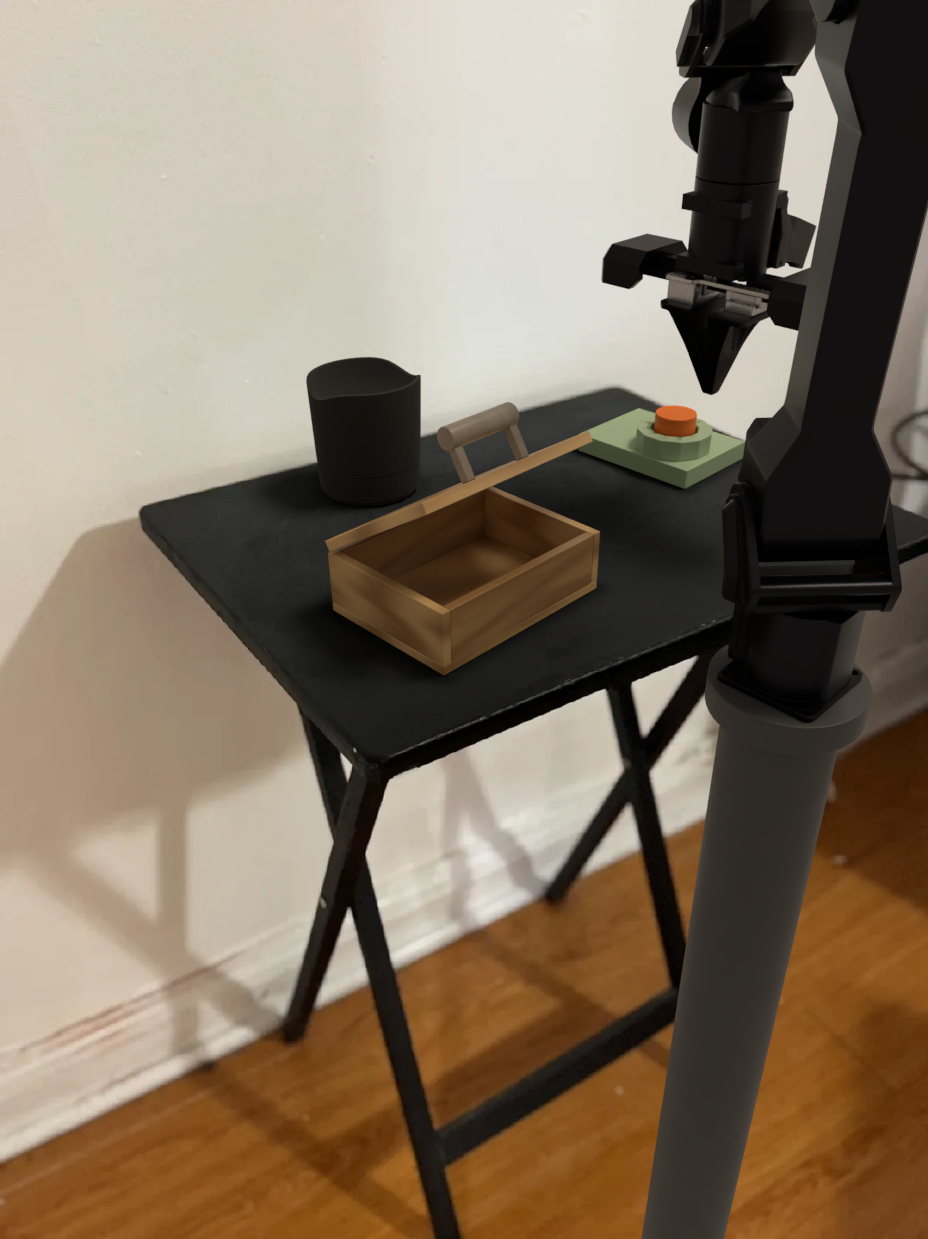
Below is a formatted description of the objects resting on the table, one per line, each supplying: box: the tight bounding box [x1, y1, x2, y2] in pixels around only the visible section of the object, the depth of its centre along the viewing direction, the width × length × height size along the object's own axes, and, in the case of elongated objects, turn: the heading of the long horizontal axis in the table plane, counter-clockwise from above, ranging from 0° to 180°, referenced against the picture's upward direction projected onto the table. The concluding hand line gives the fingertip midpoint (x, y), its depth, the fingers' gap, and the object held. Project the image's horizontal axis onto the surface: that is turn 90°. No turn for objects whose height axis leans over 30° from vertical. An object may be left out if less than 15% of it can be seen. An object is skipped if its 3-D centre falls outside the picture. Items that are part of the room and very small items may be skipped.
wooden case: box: [327, 486, 601, 676], centre depth 74 cm, size 11×15×5 cm
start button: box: [654, 405, 698, 437], centre depth 92 cm, size 4×4×2 cm
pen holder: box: [305, 356, 422, 507], centre depth 89 cm, size 9×9×10 cm
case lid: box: [324, 401, 593, 552], centre depth 71 cm, size 12×15×5 cm
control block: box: [578, 407, 745, 490], centre depth 95 cm, size 12×9×4 cm
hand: (710, 392), depth 81 cm, fingers closed
